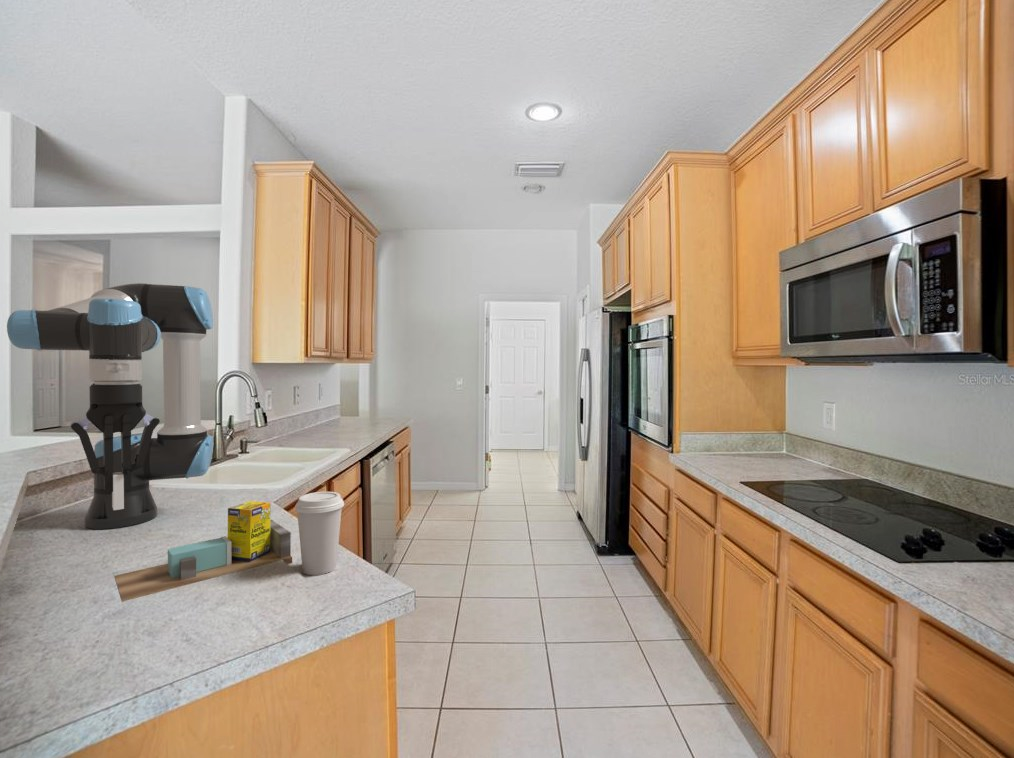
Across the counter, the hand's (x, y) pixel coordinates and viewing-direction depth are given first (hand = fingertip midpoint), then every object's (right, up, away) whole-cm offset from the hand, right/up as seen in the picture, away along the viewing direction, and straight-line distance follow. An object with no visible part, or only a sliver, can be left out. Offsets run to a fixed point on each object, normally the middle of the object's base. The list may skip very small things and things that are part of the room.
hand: (118, 507), depth 87 cm
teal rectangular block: (+12, -14, +6) cm, 19 cm away
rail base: (+13, -15, +7) cm, 21 cm away
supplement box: (+18, -14, +12) cm, 26 cm away
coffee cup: (+35, -15, +9) cm, 39 cm away
